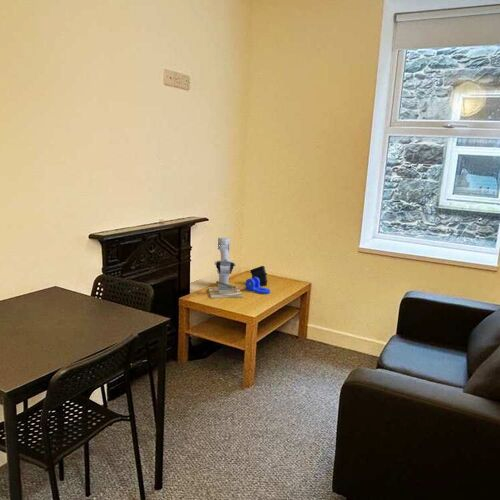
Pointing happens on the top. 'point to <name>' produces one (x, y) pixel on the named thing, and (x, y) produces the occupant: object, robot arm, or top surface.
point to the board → (217, 295)
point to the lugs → (233, 289)
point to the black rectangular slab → (260, 275)
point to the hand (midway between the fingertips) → (225, 272)
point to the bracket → (256, 286)
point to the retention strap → (225, 284)
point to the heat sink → (225, 290)
